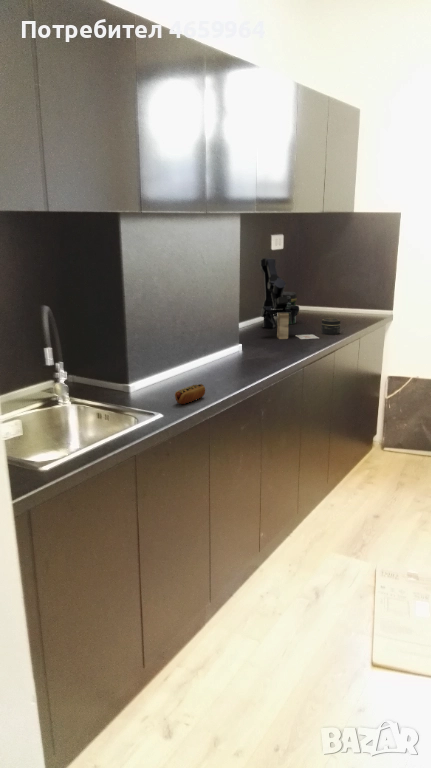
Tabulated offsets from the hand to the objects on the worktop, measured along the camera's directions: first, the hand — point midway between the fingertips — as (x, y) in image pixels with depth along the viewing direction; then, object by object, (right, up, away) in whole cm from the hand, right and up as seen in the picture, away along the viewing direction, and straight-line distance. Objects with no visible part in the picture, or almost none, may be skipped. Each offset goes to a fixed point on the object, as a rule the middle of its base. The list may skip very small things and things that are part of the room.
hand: (283, 324), depth 296 cm
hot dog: (-44, -36, -97) cm, 112 cm away
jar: (+27, -4, +15) cm, 31 cm away
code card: (+13, -6, +6) cm, 15 cm away
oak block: (0, -7, +3) cm, 8 cm away
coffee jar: (+8, +5, +46) cm, 47 cm away
